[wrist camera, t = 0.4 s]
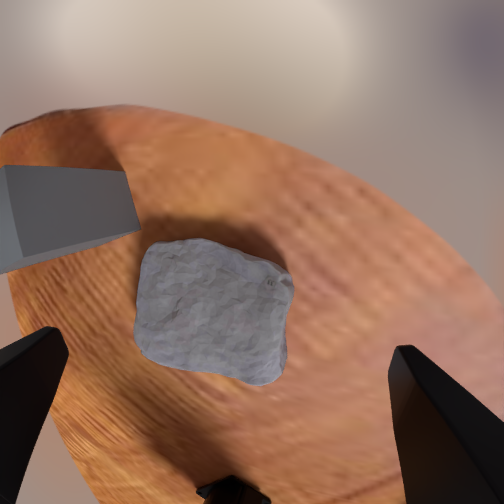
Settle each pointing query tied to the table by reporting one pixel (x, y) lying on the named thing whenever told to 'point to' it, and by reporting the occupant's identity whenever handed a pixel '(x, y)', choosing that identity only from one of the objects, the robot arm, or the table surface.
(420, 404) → the robot arm
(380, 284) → the table surface
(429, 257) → the table surface
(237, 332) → the stone block
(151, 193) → the table surface
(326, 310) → the table surface
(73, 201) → the pillar
